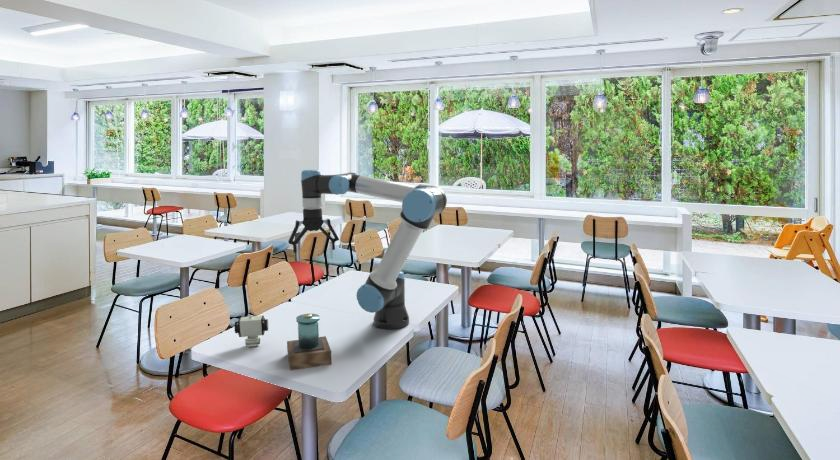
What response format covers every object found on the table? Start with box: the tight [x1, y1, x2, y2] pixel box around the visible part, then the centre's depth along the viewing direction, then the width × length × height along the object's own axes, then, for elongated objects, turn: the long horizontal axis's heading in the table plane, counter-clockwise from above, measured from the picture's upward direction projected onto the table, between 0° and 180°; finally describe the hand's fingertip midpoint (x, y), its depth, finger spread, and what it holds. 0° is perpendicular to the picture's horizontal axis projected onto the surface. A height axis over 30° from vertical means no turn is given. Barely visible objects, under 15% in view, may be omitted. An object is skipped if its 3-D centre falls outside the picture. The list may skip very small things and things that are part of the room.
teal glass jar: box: [296, 313, 320, 348], centre depth 175 cm, size 8×8×11 cm
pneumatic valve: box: [233, 314, 269, 348], centre depth 189 cm, size 6×12×12 cm, turn 101°
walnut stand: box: [286, 335, 333, 371], centre depth 176 cm, size 14×14×5 cm
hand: (314, 259), depth 205 cm, fingers open, 13 cm apart
